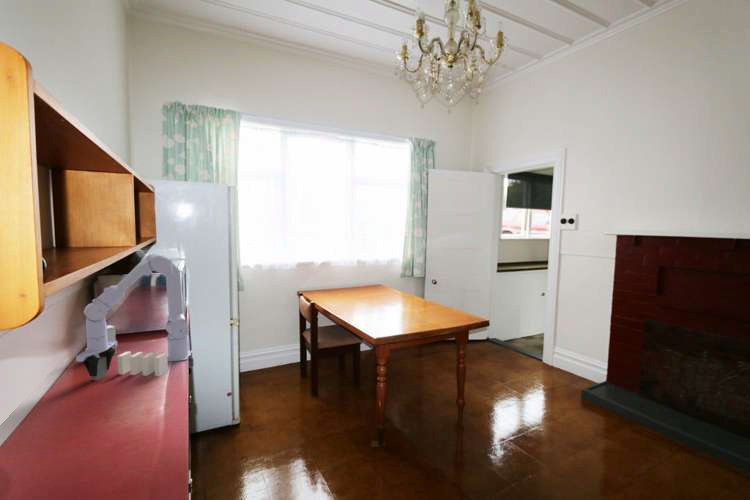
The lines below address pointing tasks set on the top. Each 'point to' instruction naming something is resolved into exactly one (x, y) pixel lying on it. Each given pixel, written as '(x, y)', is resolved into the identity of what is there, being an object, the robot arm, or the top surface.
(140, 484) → the top surface
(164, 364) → the ivory domino
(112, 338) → the skincare box
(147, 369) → the ivory domino
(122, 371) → the ivory domino
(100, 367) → the charcoal domino
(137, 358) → the ivory domino
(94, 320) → the robot arm
